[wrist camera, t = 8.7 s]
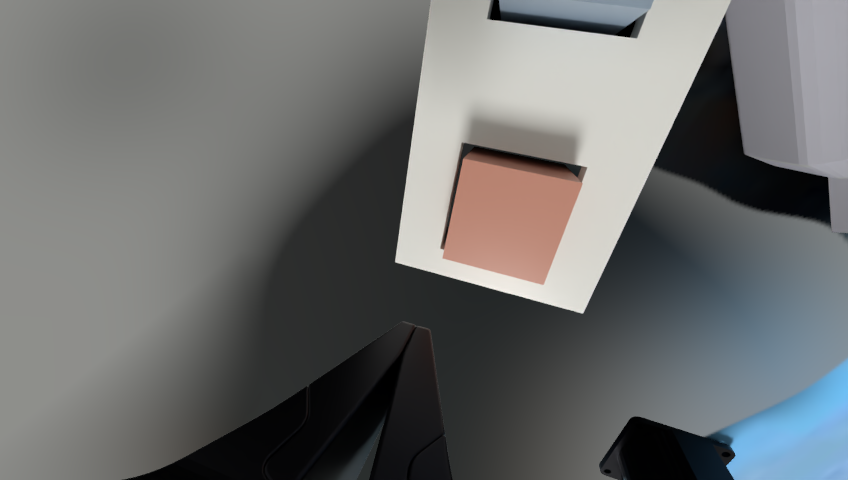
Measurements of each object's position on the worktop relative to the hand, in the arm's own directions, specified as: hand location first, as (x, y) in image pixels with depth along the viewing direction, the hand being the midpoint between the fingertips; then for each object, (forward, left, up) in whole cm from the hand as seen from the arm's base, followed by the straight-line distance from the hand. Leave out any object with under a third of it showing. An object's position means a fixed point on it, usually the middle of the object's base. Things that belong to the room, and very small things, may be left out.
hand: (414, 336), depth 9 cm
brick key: (+2, -2, -10) cm, 11 cm away
